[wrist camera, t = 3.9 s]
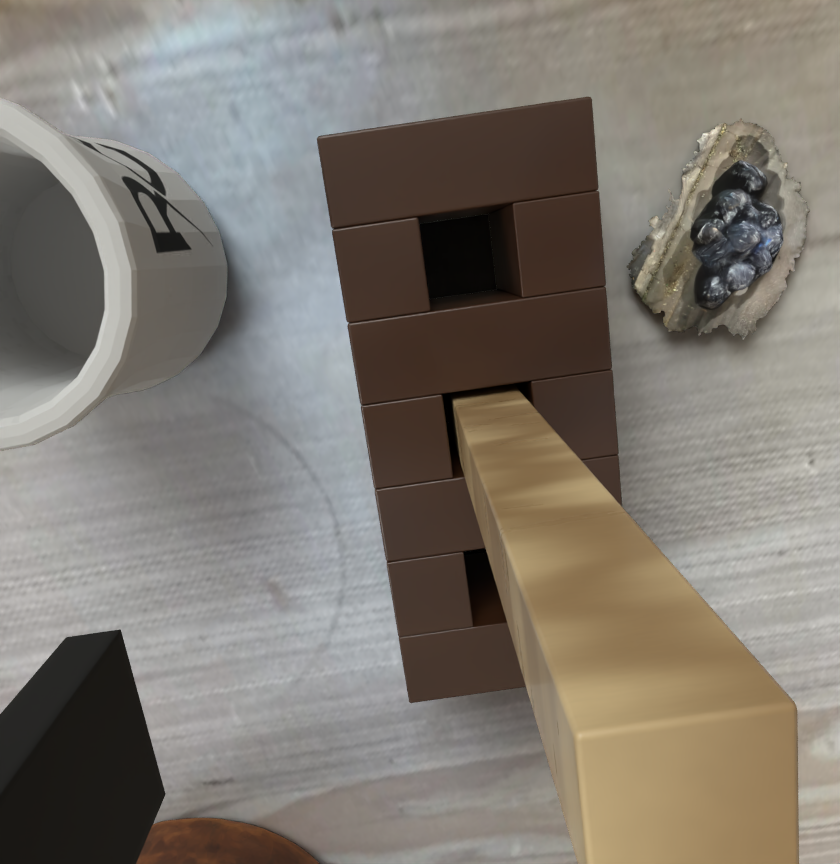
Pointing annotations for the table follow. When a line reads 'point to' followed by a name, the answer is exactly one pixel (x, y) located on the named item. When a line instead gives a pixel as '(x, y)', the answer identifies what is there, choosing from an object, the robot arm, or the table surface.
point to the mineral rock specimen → (724, 235)
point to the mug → (95, 275)
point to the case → (217, 844)
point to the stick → (624, 661)
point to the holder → (468, 348)
